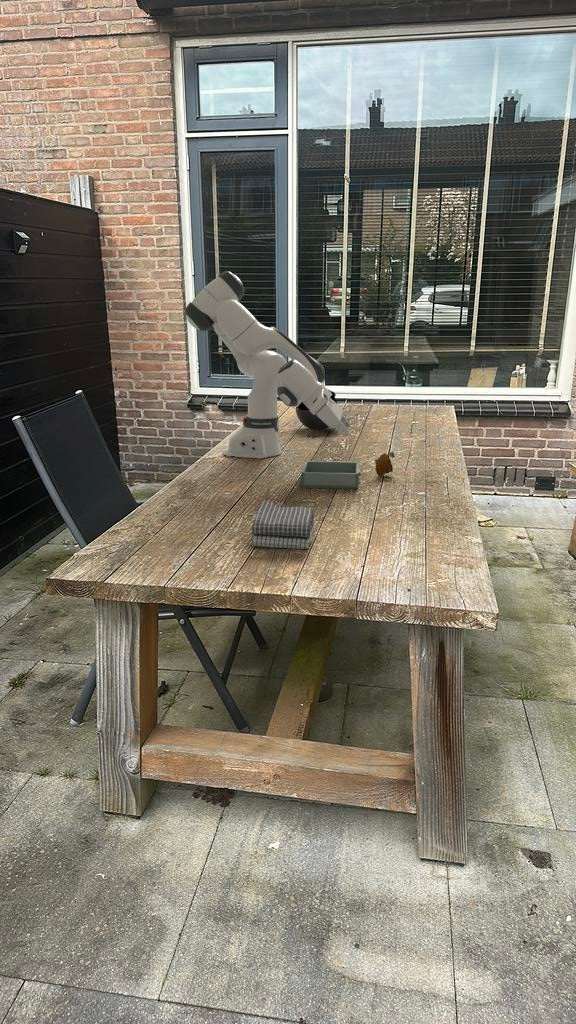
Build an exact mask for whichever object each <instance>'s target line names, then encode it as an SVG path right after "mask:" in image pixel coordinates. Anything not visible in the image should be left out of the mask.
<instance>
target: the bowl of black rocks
mask: <svg viewBox="0 0 576 1024" xmlns="http://www.w3.org/2000/svg"><path fill="white" fill-rule="evenodd" d="M328 390H329V391H330V392H331V393H332V395H331V397H330V398H331V399H332V400H333V401H334V402H335V403H336V404H337V405H338V402H337V399H336V396H337V395H336V393H335V392H334V391H333V390H330V389H328ZM295 413H296V417H297V418H298V420H299V422H300V423H301V425H303V426H305V427H306V428H307V429H310V430H312V431H324V430H327V429H329V428H330V427H329V426H328V425H327V424H325V423H324V422H323V421H322V420H321V419H320V418H319V417H318V416H317V415H316V414H315V415H313V414H312V413H311V412H310V410H309V409H308V408H307V406H306V405H305V404H304V403H303V402H301V403H300V404H299V405H297V406H295Z"/></svg>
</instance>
